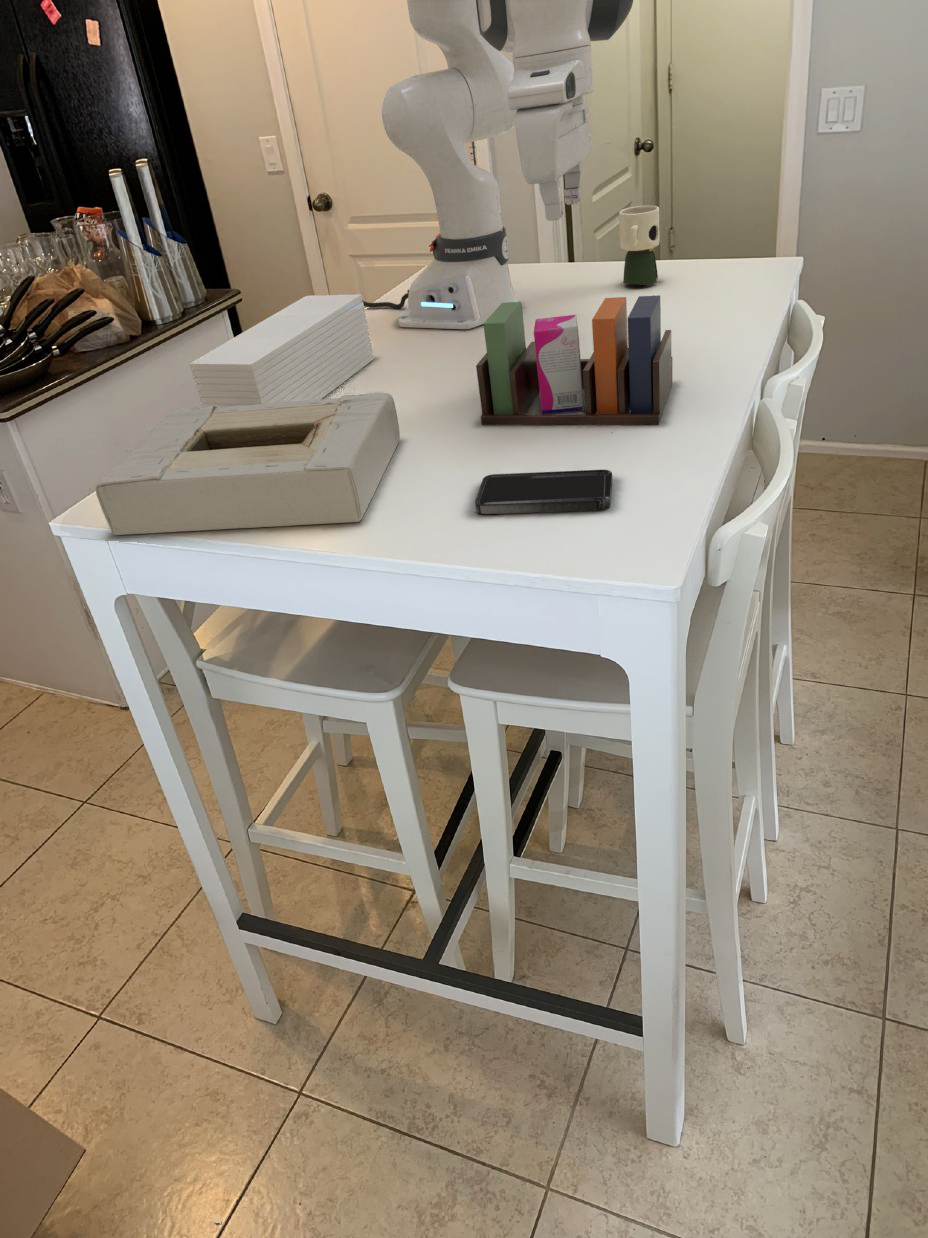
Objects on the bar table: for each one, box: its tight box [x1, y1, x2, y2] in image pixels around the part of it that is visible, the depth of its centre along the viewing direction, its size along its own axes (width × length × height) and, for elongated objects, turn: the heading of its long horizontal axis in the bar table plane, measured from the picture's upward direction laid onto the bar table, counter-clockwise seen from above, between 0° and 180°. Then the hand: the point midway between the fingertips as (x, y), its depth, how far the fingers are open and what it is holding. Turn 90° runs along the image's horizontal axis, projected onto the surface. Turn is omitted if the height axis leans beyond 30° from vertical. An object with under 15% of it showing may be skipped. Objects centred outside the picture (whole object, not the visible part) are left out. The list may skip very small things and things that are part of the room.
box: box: [95, 392, 401, 536], centre depth 114 cm, size 23×8×32 cm
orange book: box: [591, 296, 628, 414], centre depth 119 cm, size 3×9×13 cm, turn 162°
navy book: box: [627, 294, 662, 414], centre depth 118 cm, size 3×9×13 cm, turn 162°
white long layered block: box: [188, 293, 375, 407], centre depth 140 cm, size 32×11×11 cm, turn 157°
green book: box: [482, 301, 527, 415], centre depth 124 cm, size 3×9×13 cm, turn 162°
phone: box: [474, 469, 613, 515], centre depth 103 cm, size 8×1×15 cm
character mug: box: [618, 204, 661, 287], centre depth 165 cm, size 11×7×13 cm, turn 159°
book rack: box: [475, 329, 674, 426], centre depth 122 cm, size 24×14×8 cm, turn 72°
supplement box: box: [533, 314, 584, 414], centre depth 122 cm, size 6×6×12 cm
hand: (564, 210), depth 111 cm, fingers open, 8 cm apart
